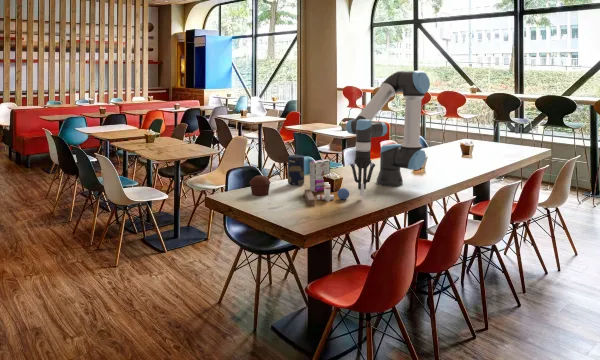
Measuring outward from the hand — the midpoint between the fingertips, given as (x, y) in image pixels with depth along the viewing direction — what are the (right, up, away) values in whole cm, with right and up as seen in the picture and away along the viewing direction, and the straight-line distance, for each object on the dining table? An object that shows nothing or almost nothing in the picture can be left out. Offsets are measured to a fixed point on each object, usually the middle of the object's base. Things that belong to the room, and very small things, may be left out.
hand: (361, 195), depth 270 cm
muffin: (-53, 0, +10) cm, 54 cm away
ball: (-10, +1, -1) cm, 10 cm away
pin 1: (-18, -2, +1) cm, 18 cm away
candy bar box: (-21, +2, +20) cm, 29 cm away
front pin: (-14, -1, -1) cm, 15 cm away
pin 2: (-18, -3, -4) cm, 18 cm away
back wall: (-27, -2, -2) cm, 27 cm away
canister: (-34, +5, +33) cm, 48 cm away
